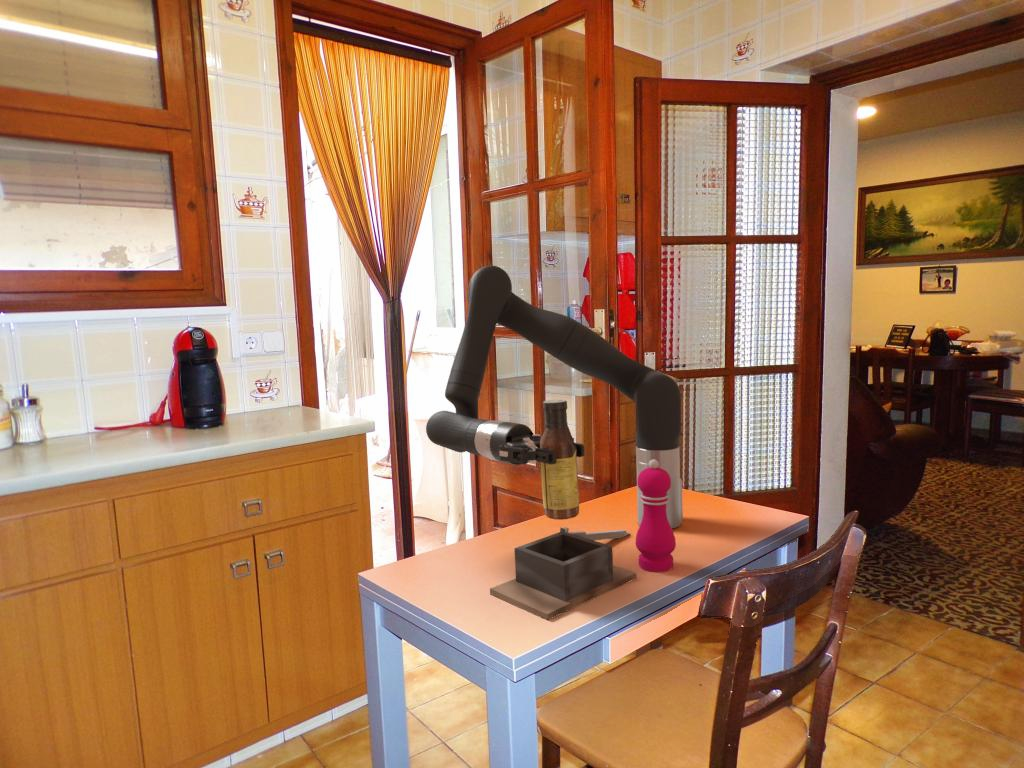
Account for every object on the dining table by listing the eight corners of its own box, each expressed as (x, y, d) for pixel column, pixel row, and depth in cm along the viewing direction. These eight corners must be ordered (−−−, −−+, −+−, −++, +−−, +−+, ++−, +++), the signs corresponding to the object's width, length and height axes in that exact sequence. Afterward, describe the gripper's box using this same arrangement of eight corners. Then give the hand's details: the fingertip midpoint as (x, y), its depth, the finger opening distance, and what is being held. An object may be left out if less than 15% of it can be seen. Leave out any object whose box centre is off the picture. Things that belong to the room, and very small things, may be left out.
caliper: (560, 561, 129) (559, 530, 128) (556, 560, 130) (555, 528, 129) (630, 535, 142) (629, 506, 141) (626, 534, 142) (625, 505, 142)
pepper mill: (628, 562, 126) (625, 458, 124) (660, 555, 129) (658, 453, 127) (651, 576, 119) (648, 465, 117) (684, 568, 122) (682, 460, 120)
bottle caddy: (578, 558, 129) (577, 523, 129) (636, 578, 119) (635, 539, 118) (490, 594, 115) (488, 554, 114) (547, 620, 104) (545, 576, 104)
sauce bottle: (587, 515, 115) (584, 400, 112) (558, 523, 111) (554, 404, 109) (562, 507, 120) (559, 396, 118) (534, 514, 117) (530, 401, 114)
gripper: (472, 427, 120) (537, 439, 107) (531, 416, 129) (597, 425, 117) (474, 468, 121) (538, 485, 108) (533, 454, 130) (598, 468, 118)
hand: (568, 454), depth 113 cm, fingers closed on sauce bottle, 6 cm apart
